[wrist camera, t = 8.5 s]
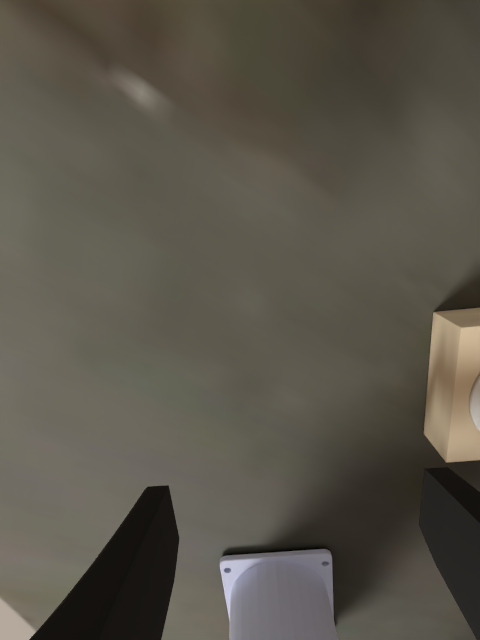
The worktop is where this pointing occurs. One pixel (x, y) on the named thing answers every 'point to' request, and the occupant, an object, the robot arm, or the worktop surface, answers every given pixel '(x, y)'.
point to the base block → (454, 385)
